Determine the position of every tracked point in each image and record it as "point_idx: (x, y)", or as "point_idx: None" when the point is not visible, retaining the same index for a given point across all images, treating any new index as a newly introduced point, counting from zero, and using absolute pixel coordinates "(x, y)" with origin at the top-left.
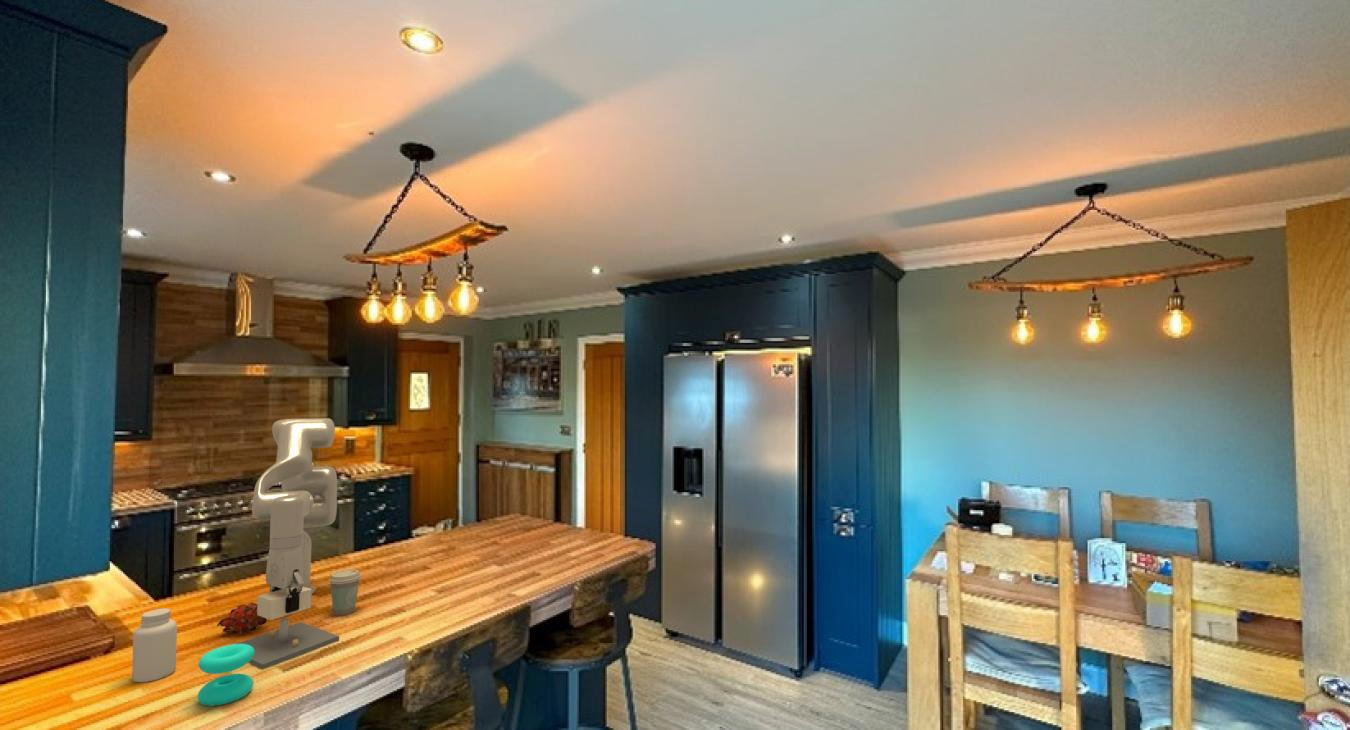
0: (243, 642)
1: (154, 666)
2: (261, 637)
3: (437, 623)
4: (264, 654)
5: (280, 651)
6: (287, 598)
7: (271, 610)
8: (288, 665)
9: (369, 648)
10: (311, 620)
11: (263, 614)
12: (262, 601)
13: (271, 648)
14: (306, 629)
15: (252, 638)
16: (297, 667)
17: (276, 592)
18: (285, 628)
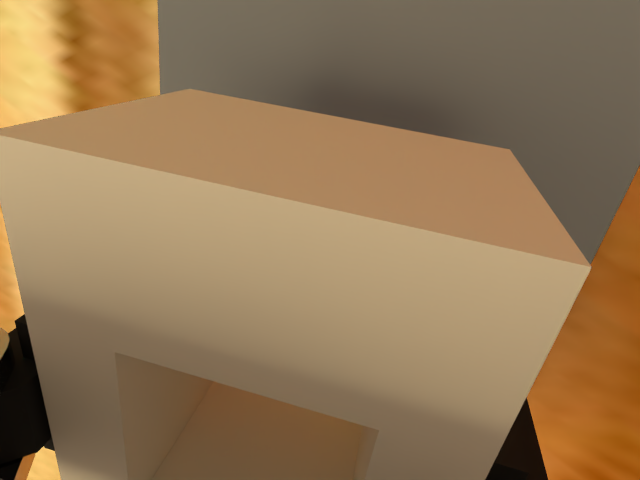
0: (634, 106)
1: None
2: (564, 208)
3: (37, 469)
4: (290, 25)
5: (242, 97)
6: (20, 325)
7: (120, 105)
8: (108, 29)
9: (12, 280)
10: None
11: (351, 127)
12: (364, 185)
13: (334, 108)
14: None
15: (623, 179)
16: (51, 32)
17: (367, 469)
18: None
